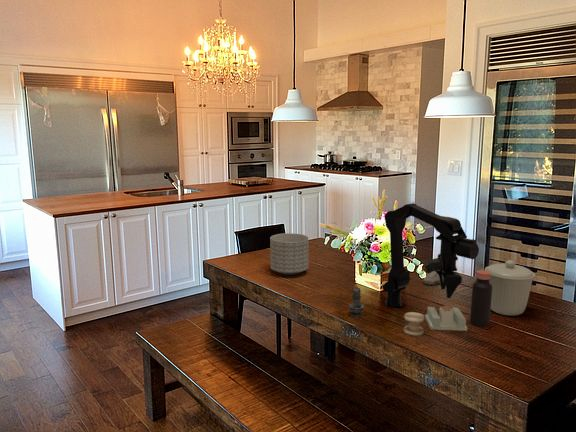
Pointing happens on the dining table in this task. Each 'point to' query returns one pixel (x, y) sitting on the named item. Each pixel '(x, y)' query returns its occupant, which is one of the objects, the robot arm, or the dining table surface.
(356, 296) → the flange bolt
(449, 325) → the notch board
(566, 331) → the dining table surface
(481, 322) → the bottle
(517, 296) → the canister
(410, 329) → the bobbin
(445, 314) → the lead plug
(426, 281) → the long grey stone
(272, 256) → the planter
